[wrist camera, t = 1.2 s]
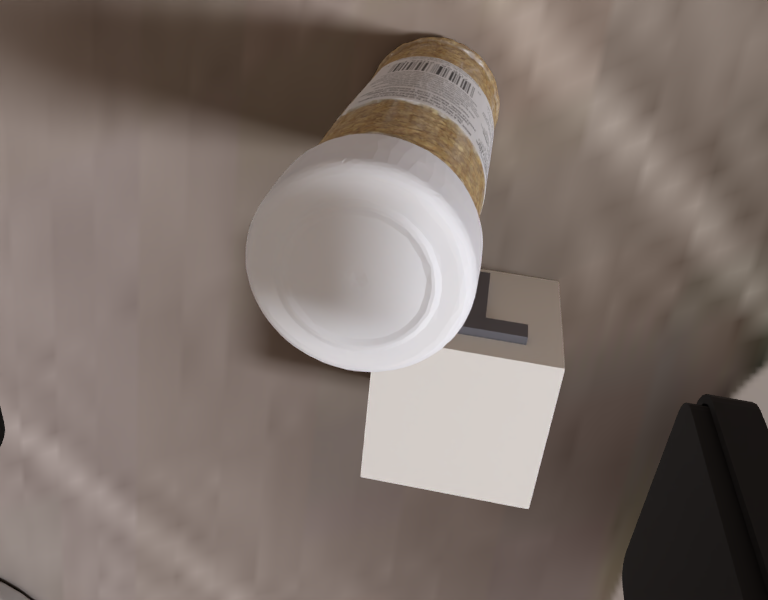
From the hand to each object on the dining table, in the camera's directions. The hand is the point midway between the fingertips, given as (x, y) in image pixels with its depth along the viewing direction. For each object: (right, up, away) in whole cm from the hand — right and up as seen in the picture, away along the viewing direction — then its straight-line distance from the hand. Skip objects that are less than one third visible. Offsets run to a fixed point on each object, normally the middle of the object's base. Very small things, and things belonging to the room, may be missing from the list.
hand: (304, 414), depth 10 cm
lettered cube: (+4, 0, +20) cm, 20 cm away
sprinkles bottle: (+3, +8, +16) cm, 18 cm away
